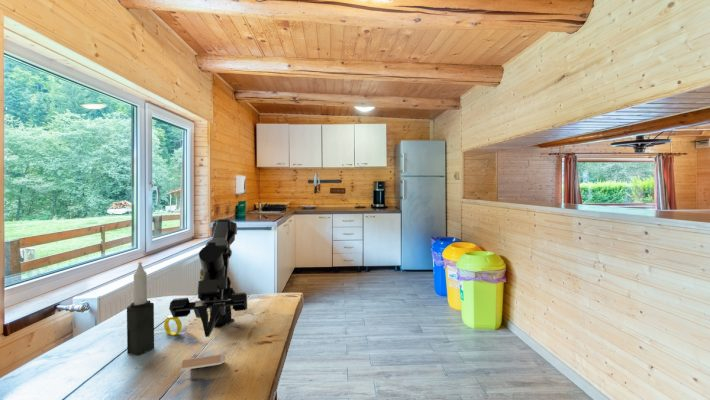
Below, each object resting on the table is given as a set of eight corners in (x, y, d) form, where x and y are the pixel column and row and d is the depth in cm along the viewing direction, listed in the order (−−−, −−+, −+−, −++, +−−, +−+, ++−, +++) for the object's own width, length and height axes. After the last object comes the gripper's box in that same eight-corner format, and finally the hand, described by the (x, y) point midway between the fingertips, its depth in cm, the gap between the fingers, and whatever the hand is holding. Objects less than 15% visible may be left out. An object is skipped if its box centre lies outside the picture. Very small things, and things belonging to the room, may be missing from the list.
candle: (156, 347, 85) (155, 260, 85) (138, 356, 81) (137, 264, 80) (143, 344, 87) (142, 259, 86) (125, 352, 82) (124, 263, 82)
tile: (191, 358, 76) (182, 360, 68) (225, 353, 79) (220, 354, 70) (190, 367, 76) (181, 370, 67) (224, 362, 78) (220, 364, 69)
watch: (162, 335, 93) (161, 316, 93) (170, 331, 96) (169, 313, 96) (176, 337, 91) (175, 318, 91) (184, 333, 94) (183, 314, 94)
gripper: (171, 268, 78) (157, 328, 67) (246, 264, 83) (244, 318, 73) (179, 289, 85) (167, 346, 75) (247, 283, 91) (246, 335, 81)
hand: (207, 336), depth 76 cm, fingers closed
